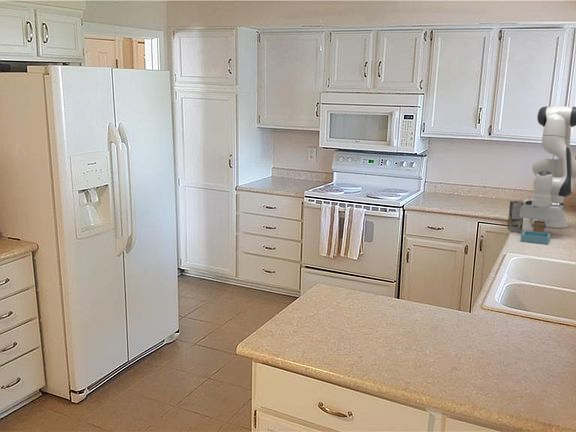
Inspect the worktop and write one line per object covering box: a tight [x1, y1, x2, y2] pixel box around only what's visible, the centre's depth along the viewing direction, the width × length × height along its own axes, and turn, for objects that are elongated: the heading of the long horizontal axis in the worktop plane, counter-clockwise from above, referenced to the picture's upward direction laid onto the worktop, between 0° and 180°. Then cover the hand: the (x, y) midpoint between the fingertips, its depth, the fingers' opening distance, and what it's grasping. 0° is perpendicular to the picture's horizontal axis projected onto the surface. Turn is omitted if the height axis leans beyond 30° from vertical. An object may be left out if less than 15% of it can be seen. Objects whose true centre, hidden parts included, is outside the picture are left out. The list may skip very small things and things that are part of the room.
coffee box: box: [507, 200, 524, 233], centre depth 315 cm, size 9×6×16 cm
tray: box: [520, 230, 551, 245], centre depth 291 cm, size 13×13×4 cm
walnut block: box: [532, 219, 545, 233], centre depth 302 cm, size 5×5×5 cm
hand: (538, 227), depth 303 cm, fingers closed on walnut block, 5 cm apart
